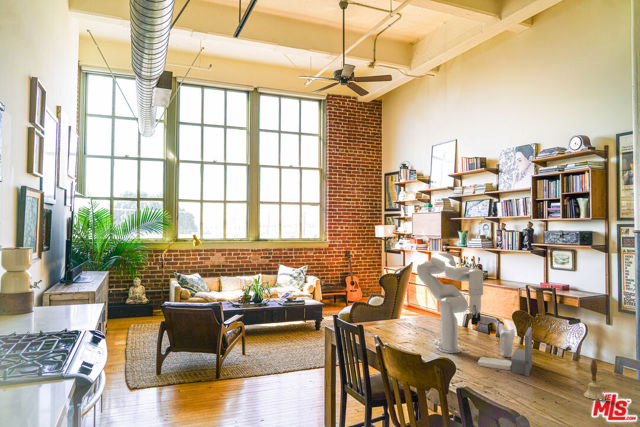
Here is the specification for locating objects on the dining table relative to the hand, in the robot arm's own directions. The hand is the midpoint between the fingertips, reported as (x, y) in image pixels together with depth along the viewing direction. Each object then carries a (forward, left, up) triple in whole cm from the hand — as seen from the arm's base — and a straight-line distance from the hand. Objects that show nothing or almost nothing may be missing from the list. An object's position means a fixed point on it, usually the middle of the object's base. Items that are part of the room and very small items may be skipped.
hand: (475, 322), depth 236 cm
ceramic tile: (+10, -2, -22) cm, 24 cm away
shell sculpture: (+13, +18, -21) cm, 31 cm away
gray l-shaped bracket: (+23, -2, -21) cm, 31 cm away
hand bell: (+54, -26, -21) cm, 64 cm away
